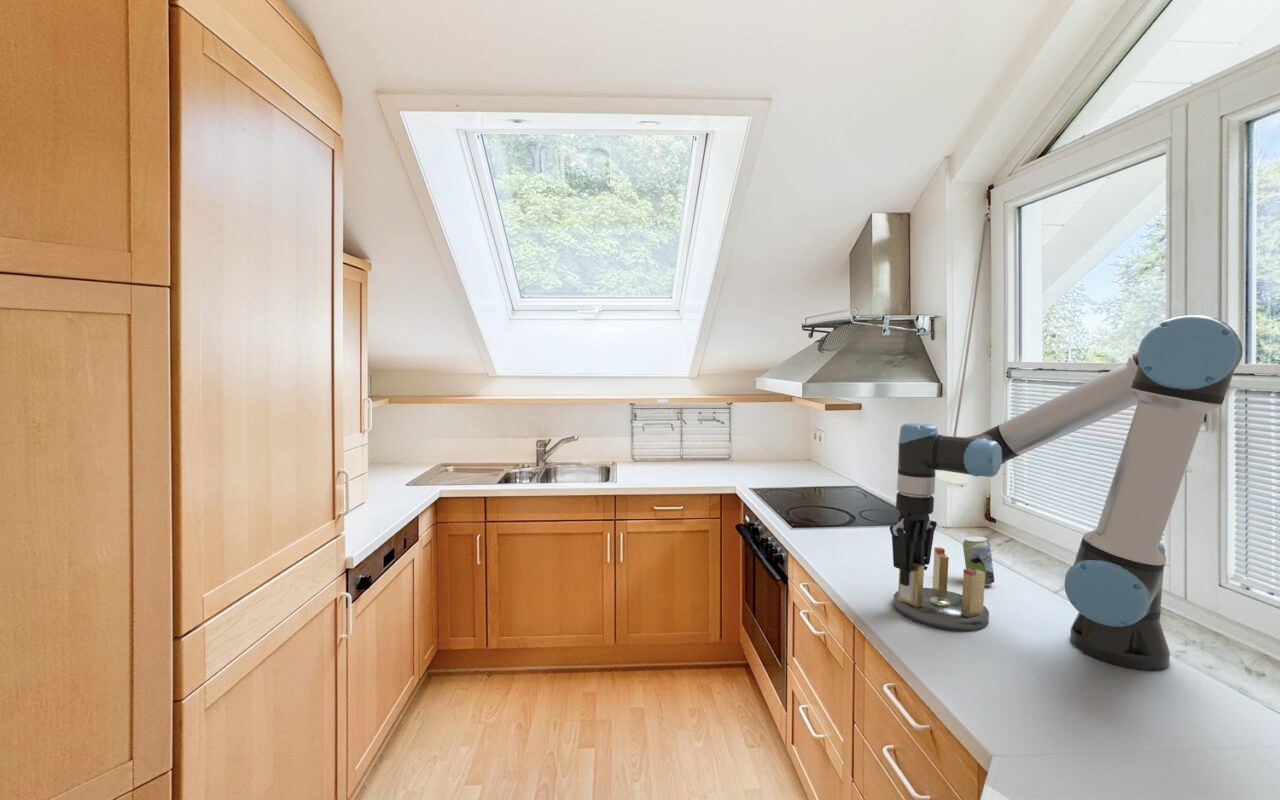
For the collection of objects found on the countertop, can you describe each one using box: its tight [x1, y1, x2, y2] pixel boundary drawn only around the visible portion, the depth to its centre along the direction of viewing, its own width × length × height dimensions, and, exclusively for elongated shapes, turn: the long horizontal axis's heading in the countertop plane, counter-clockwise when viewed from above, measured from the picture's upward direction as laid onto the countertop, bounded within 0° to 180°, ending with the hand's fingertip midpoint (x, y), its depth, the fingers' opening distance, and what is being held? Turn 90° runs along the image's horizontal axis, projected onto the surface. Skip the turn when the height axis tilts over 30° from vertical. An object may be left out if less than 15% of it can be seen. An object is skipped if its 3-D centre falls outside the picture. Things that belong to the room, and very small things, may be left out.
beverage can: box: [962, 535, 995, 587], centre depth 150 cm, size 6×7×12 cm
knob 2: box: [931, 547, 950, 596], centre depth 138 cm, size 5×2×10 cm, turn 168°
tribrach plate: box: [893, 587, 990, 633], centre depth 132 cm, size 19×19×3 cm
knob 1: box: [897, 562, 925, 607], centre depth 132 cm, size 5×2×10 cm, turn 29°
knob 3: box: [961, 568, 985, 618], centre depth 126 cm, size 5×2×10 cm, turn 119°
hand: (910, 597), depth 132 cm, fingers closed on knob 1, 2 cm apart
